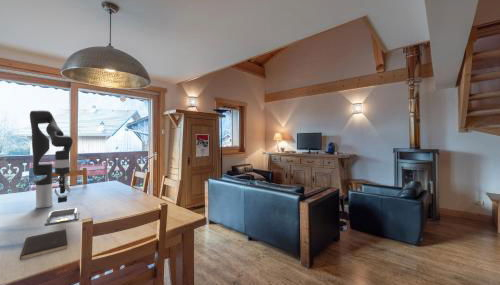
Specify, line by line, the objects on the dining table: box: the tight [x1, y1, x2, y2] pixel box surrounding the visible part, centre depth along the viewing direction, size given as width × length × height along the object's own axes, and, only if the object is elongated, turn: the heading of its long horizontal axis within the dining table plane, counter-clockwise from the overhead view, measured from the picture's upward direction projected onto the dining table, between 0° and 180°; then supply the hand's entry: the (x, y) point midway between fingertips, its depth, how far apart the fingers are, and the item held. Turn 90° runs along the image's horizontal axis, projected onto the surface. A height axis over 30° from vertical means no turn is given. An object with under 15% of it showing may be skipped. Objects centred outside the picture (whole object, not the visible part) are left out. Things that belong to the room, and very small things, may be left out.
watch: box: [53, 184, 71, 204], centre depth 145 cm, size 6×8×11 cm
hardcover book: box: [19, 229, 68, 261], centre depth 111 cm, size 16×23×2 cm
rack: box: [44, 207, 80, 226], centre depth 146 cm, size 18×16×4 cm
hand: (62, 192), depth 146 cm, fingers closed on watch, 4 cm apart
